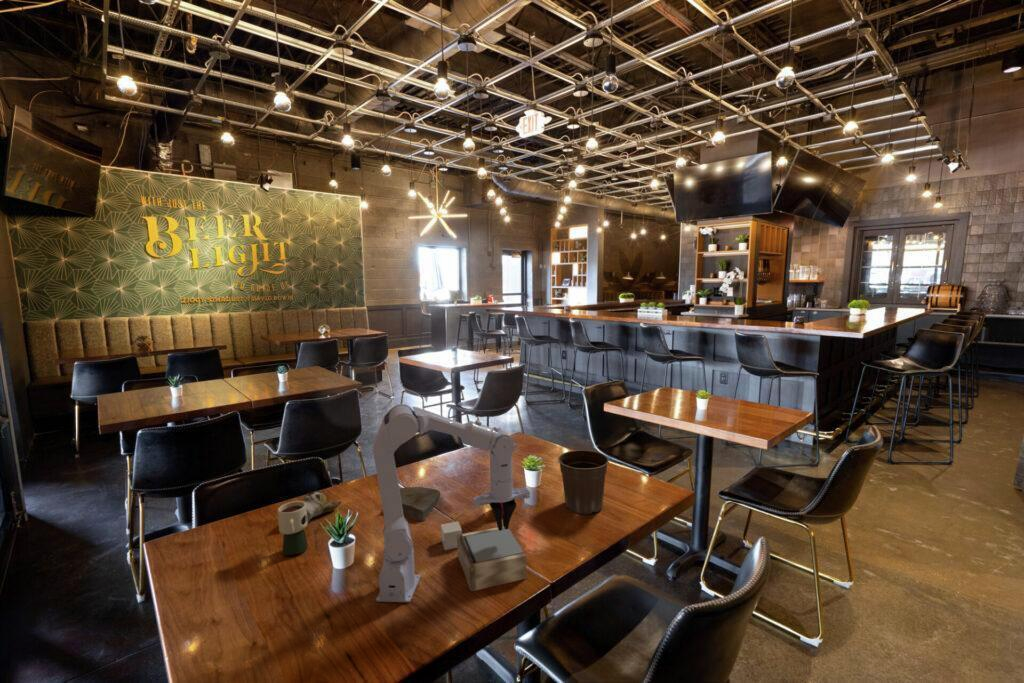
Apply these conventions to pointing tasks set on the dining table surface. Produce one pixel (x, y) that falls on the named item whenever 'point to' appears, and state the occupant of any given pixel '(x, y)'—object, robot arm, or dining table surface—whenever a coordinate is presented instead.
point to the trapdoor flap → (493, 545)
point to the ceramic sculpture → (317, 504)
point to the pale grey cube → (450, 534)
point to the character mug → (293, 527)
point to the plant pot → (583, 480)
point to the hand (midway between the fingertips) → (502, 528)
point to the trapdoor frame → (489, 566)
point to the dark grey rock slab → (418, 501)
